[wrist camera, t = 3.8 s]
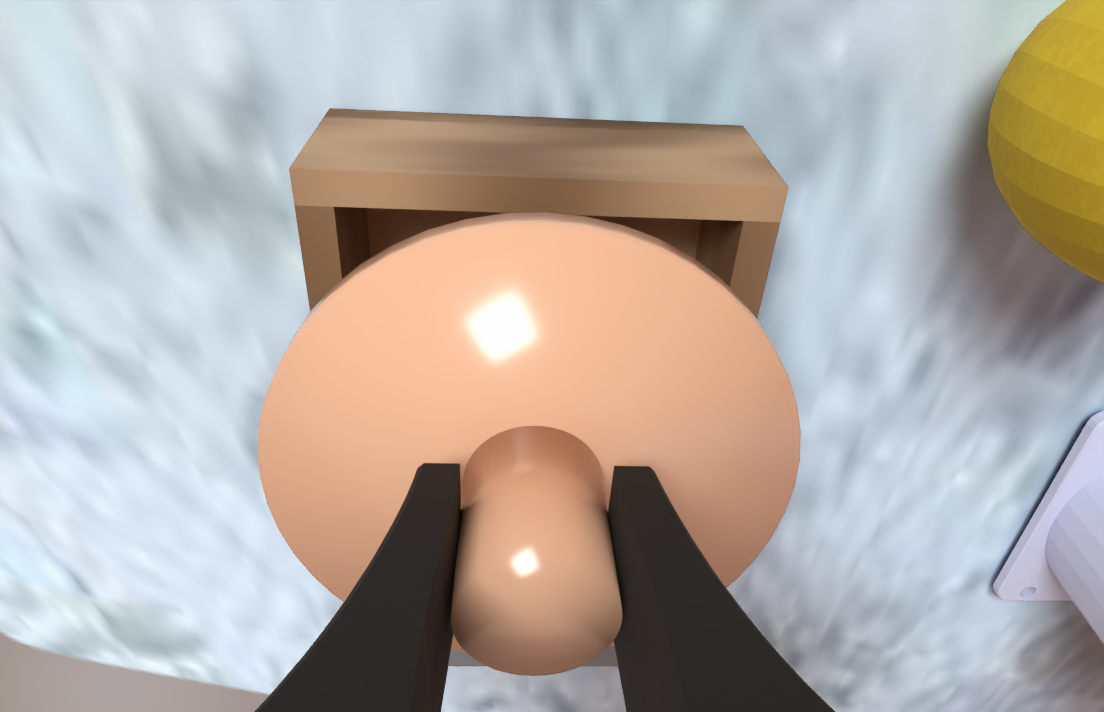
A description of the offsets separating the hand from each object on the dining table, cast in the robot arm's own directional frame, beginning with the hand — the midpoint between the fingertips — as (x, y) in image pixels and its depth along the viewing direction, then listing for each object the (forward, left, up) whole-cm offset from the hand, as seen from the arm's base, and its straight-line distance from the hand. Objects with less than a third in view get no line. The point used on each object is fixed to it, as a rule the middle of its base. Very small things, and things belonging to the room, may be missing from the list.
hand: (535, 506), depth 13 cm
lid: (0, +1, -2) cm, 2 cm away
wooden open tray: (0, 0, -7) cm, 7 cm away
